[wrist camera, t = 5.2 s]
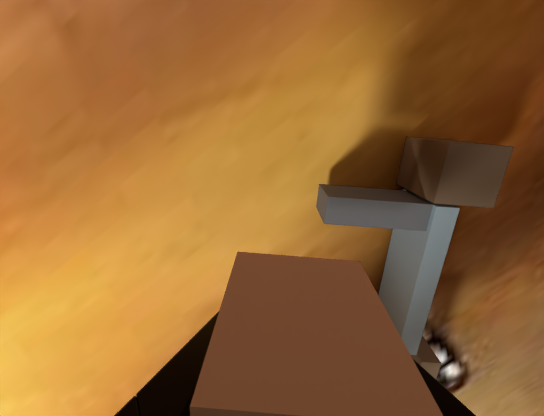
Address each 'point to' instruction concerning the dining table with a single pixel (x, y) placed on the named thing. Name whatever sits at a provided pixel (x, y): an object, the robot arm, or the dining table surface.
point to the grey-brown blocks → (451, 186)
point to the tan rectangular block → (306, 345)
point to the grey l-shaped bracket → (398, 246)
